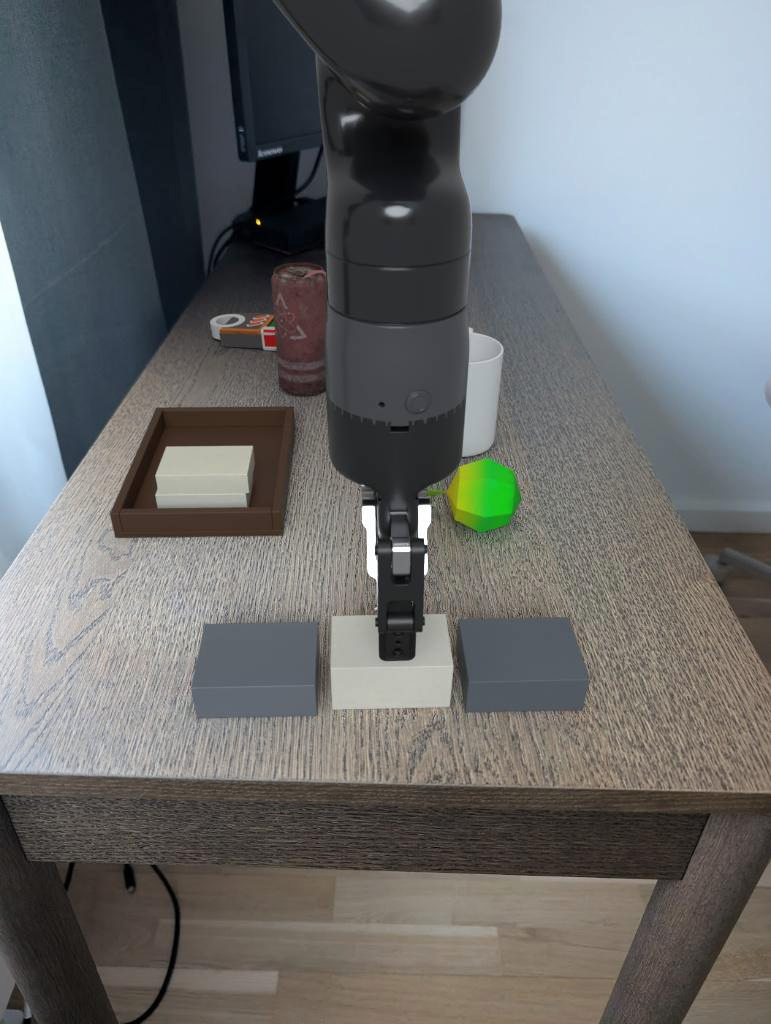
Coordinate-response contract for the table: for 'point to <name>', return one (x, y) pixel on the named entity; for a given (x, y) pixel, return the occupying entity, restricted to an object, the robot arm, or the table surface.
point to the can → (300, 327)
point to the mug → (482, 393)
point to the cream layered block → (205, 477)
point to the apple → (482, 495)
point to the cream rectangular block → (389, 667)
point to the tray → (210, 428)
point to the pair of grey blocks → (479, 647)
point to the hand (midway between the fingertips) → (393, 609)
